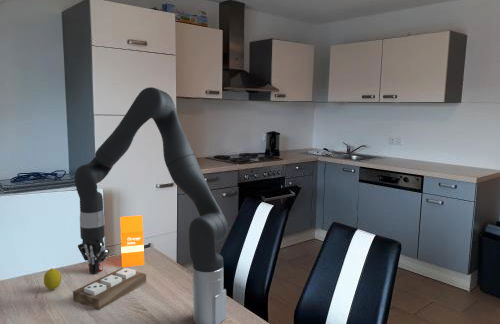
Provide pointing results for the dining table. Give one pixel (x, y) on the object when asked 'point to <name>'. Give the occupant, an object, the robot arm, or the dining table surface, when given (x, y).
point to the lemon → (52, 279)
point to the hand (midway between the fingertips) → (94, 273)
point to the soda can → (99, 267)
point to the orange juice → (132, 241)
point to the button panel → (109, 291)
